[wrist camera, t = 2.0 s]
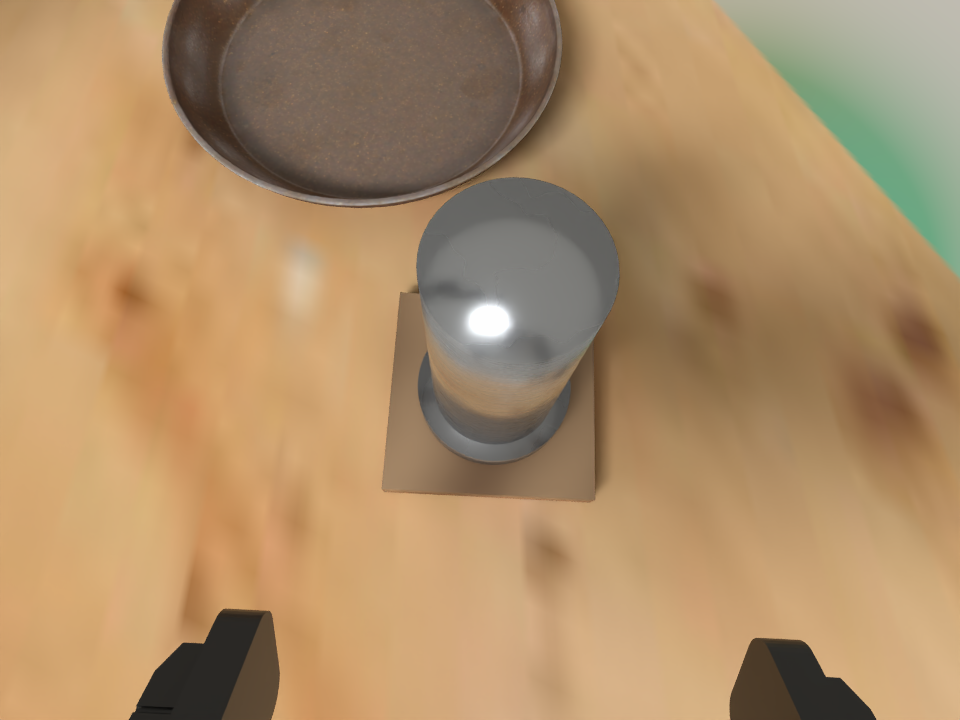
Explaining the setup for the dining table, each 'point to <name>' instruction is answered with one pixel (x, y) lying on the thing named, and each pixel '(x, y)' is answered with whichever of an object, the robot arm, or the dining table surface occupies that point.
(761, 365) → the dining table surface
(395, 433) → the stand
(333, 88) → the brown shallow round tray
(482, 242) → the metal cylinder canister
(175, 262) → the dining table surface
